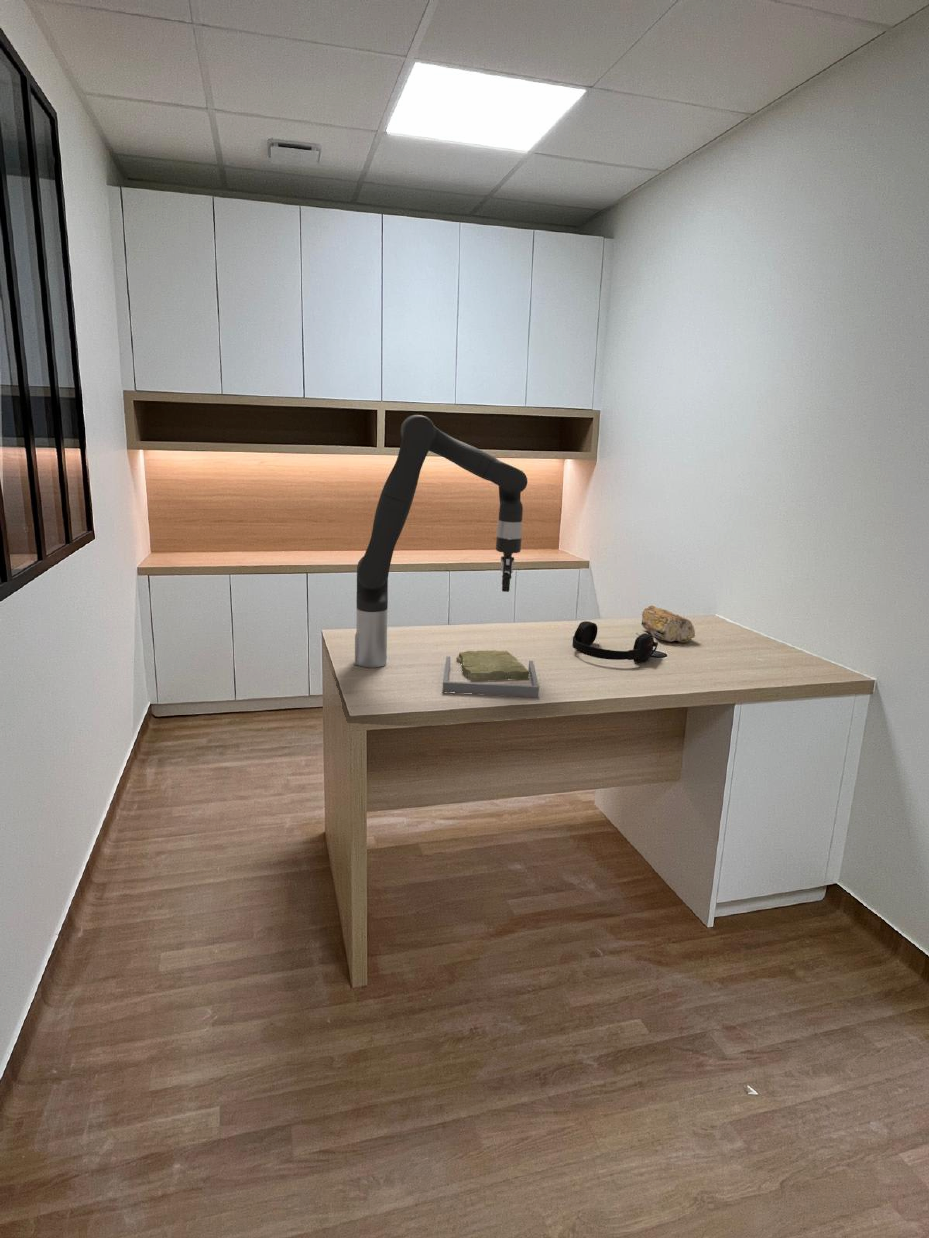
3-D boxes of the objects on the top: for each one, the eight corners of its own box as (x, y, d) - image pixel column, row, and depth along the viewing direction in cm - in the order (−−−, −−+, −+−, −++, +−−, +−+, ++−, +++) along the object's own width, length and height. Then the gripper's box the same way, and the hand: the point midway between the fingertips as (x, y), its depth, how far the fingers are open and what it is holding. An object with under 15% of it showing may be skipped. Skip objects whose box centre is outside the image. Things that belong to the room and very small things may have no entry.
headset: (652, 647, 257) (655, 623, 255) (663, 671, 231) (666, 644, 229) (570, 641, 260) (572, 617, 257) (572, 664, 234) (574, 637, 232)
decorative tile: (507, 659, 237) (508, 648, 236) (529, 680, 219) (530, 668, 218) (451, 661, 232) (451, 650, 231) (468, 683, 214) (469, 671, 213)
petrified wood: (635, 628, 277) (642, 603, 275) (664, 635, 281) (672, 609, 279) (660, 642, 259) (669, 614, 257) (692, 648, 263) (700, 622, 261)
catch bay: (442, 692, 204) (442, 682, 203) (446, 665, 226) (446, 656, 226) (538, 697, 204) (539, 687, 203) (532, 670, 226) (533, 660, 225)
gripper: (496, 531, 230) (493, 582, 234) (496, 538, 216) (493, 592, 220) (521, 533, 229) (517, 584, 234) (522, 540, 216) (518, 594, 220)
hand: (505, 588), depth 227 cm, fingers open, 8 cm apart
